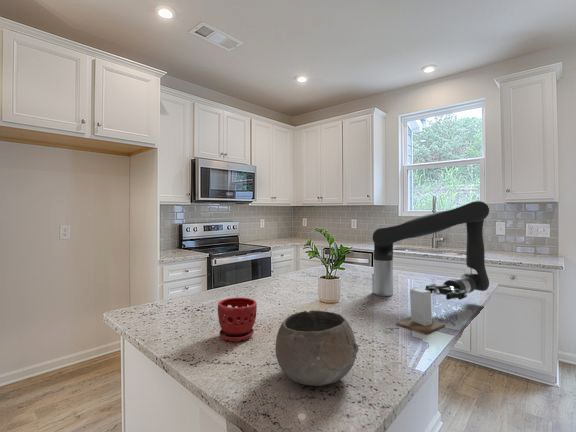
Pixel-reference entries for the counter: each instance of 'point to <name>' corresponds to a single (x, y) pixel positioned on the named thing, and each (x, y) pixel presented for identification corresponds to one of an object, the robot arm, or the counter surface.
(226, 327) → the plant pot
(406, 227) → the robot arm
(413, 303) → the skincare box
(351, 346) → the clay pot
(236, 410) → the counter surface
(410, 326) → the walnut board
